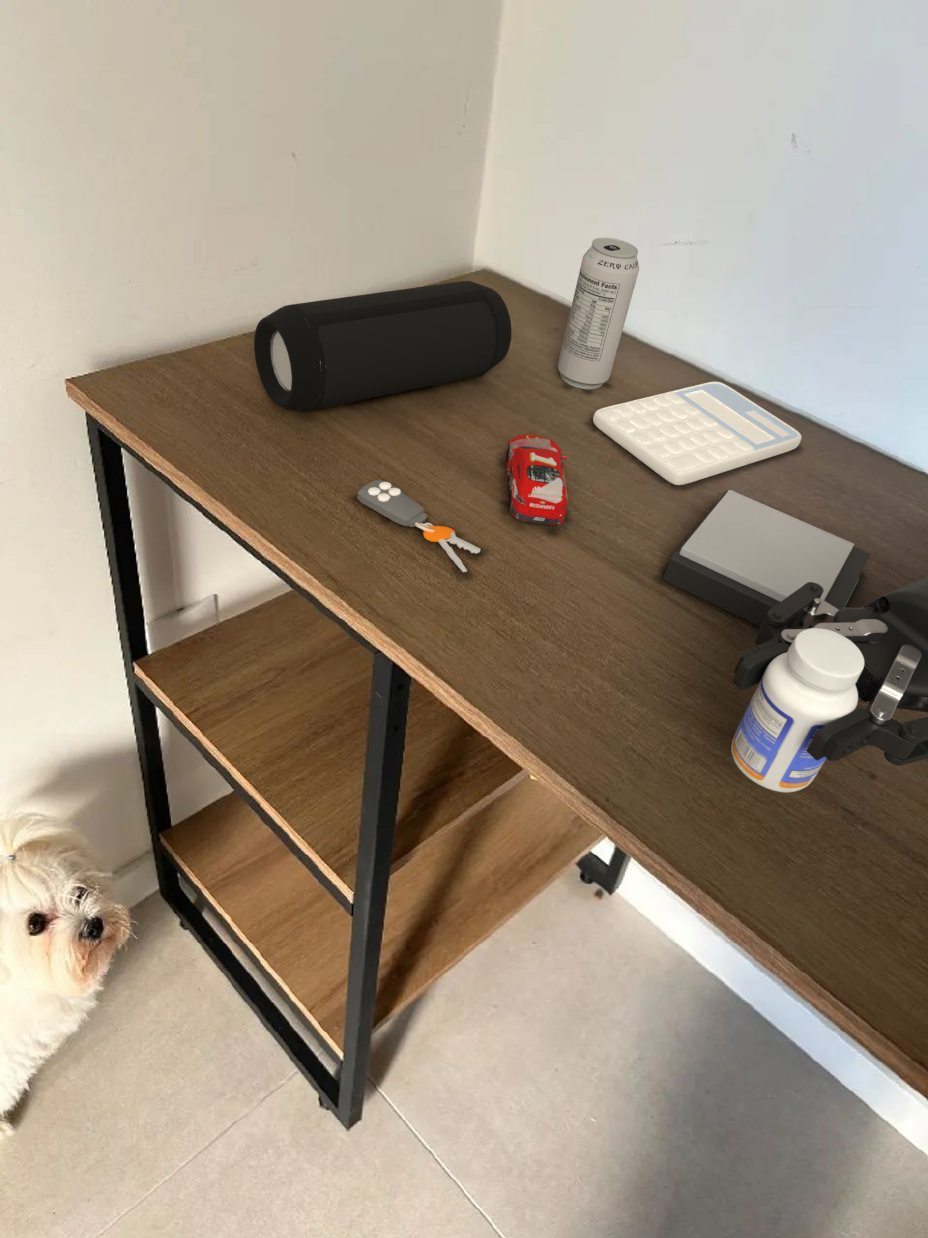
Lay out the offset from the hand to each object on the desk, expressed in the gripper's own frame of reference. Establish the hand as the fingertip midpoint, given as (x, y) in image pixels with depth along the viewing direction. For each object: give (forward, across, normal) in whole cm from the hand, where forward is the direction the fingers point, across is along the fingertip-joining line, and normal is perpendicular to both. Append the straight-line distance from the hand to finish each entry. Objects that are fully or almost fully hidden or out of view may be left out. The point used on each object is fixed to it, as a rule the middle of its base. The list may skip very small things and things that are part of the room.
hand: (778, 709), depth 54 cm
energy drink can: (-30, -53, +11) cm, 62 cm away
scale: (-23, -18, +11) cm, 31 cm away
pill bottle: (-3, 0, +6) cm, 7 cm away
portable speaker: (-7, -57, +11) cm, 59 cm away
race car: (-11, -36, +11) cm, 39 cm away
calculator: (-34, -38, +11) cm, 53 cm away
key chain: (+2, -35, +11) cm, 37 cm away
